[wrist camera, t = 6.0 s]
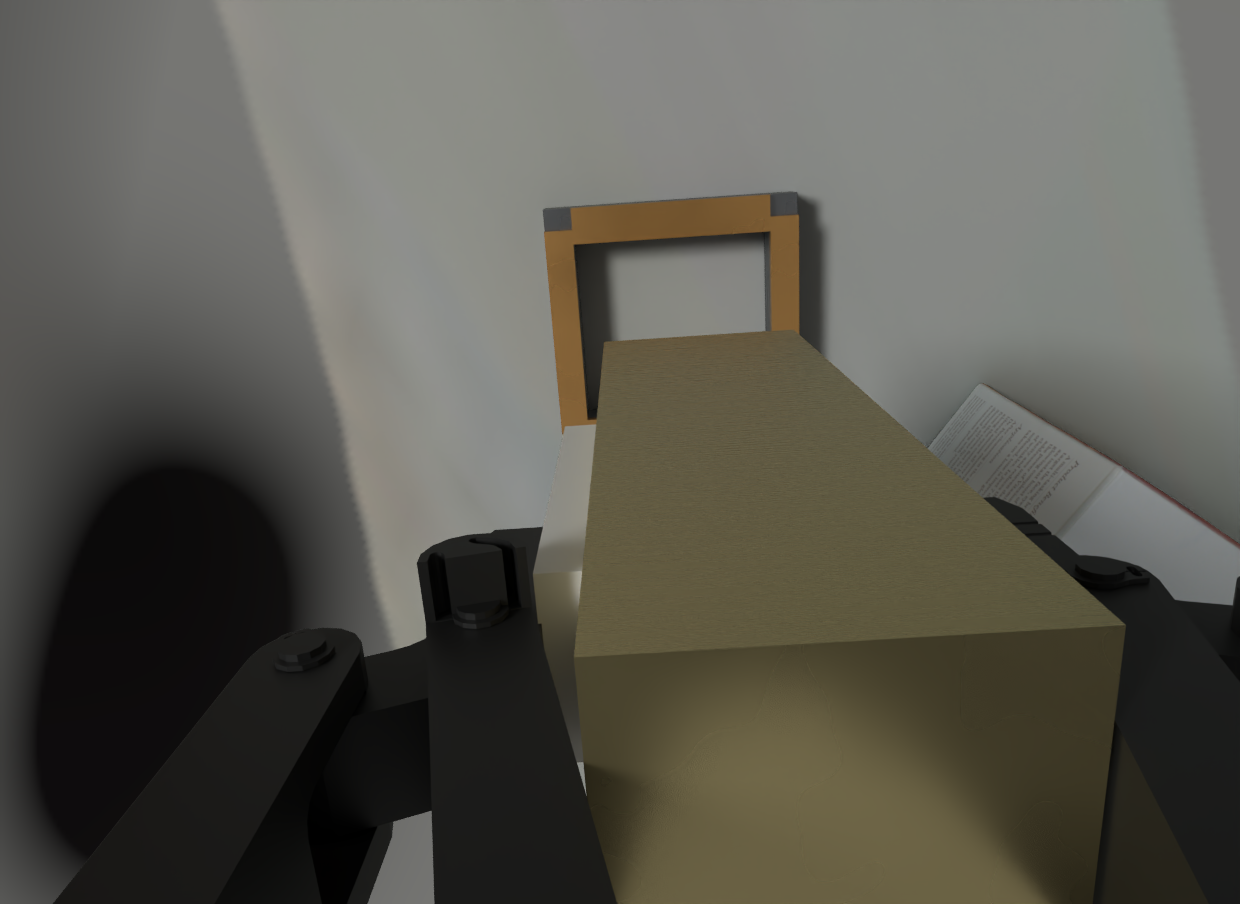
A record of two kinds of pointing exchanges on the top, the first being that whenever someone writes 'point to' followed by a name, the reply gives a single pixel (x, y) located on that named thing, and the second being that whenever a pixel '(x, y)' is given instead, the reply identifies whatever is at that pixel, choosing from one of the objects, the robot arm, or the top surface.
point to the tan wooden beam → (823, 651)
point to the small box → (1086, 497)
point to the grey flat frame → (661, 222)
